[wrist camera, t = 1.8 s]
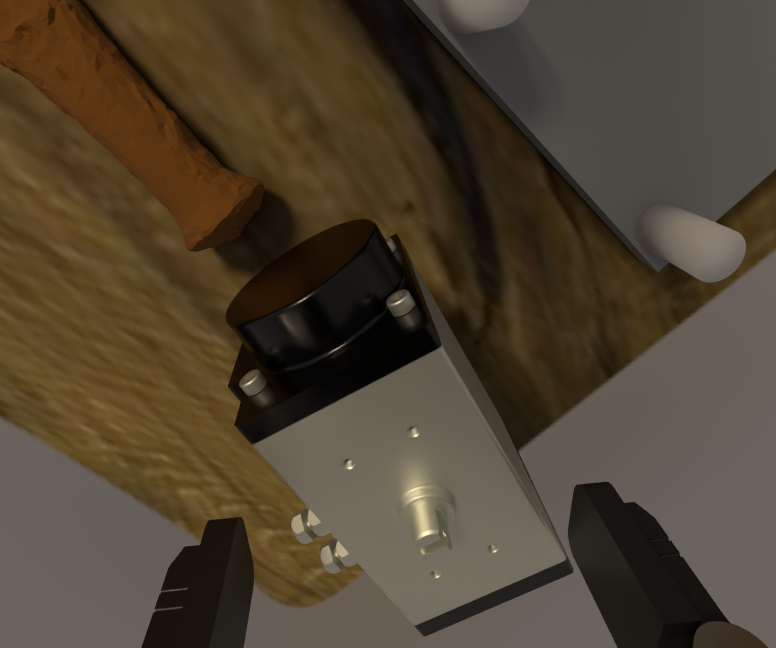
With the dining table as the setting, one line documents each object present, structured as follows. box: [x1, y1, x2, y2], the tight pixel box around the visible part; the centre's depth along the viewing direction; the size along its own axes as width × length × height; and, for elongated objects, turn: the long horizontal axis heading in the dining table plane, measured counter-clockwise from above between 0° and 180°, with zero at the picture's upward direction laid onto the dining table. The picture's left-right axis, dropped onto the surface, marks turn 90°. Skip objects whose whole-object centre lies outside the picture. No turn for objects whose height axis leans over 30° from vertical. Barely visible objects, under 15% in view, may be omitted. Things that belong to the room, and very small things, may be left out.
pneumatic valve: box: [226, 219, 573, 636], centre depth 17 cm, size 6×12×12 cm, turn 29°
